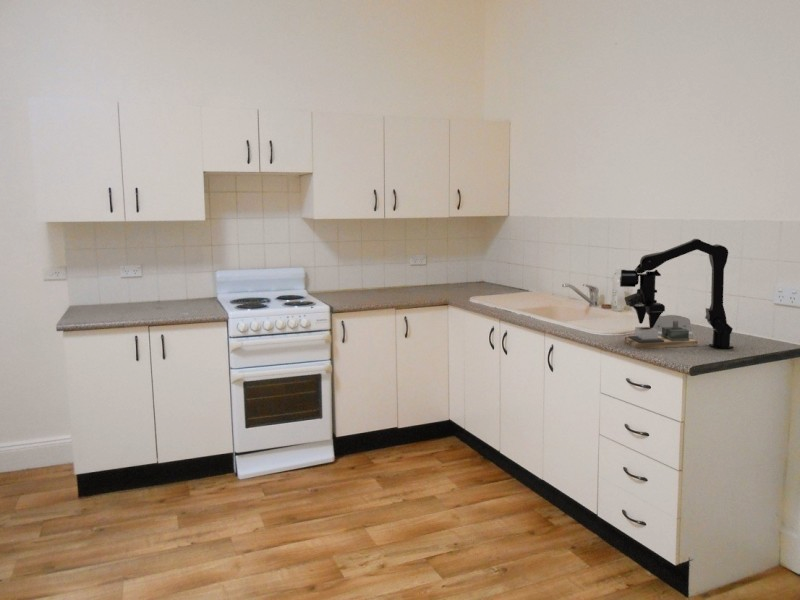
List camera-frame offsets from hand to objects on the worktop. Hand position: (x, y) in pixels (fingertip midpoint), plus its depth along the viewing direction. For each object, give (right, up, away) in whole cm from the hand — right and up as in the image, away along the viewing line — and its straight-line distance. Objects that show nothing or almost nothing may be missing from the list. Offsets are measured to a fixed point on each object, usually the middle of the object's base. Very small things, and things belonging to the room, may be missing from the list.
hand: (645, 325), depth 255 cm
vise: (+6, -7, +2) cm, 10 cm away
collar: (0, -5, +1) cm, 5 cm away
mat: (0, -6, +1) cm, 6 cm away
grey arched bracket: (+17, -5, +16) cm, 23 cm away
